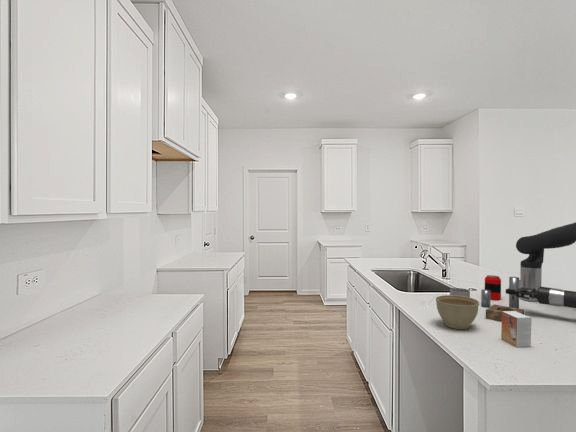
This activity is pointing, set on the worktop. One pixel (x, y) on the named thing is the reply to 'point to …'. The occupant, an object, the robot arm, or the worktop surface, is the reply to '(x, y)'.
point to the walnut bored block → (499, 312)
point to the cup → (460, 292)
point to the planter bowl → (457, 310)
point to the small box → (516, 328)
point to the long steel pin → (514, 286)
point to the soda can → (493, 286)
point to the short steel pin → (485, 298)
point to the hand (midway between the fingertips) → (507, 290)
